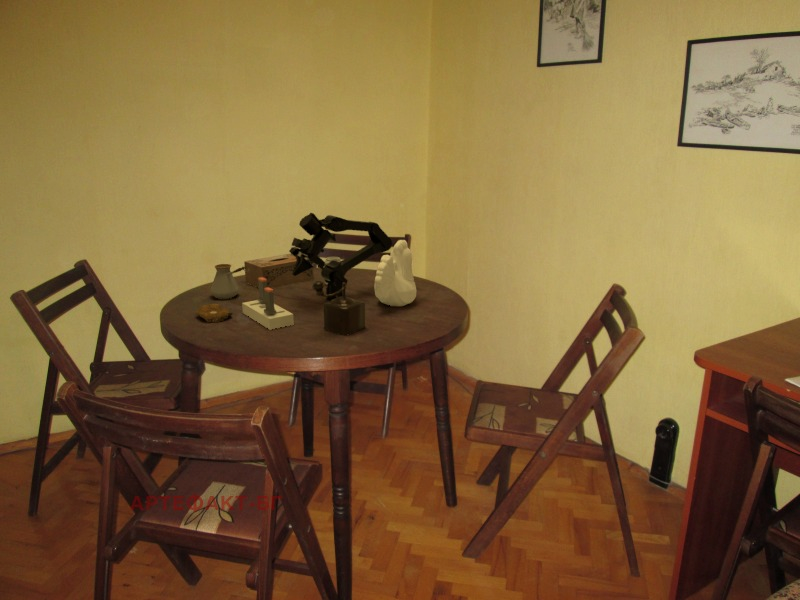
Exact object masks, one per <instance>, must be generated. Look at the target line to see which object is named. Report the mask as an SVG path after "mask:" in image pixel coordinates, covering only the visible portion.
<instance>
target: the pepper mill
mask: <svg viewBox="0 0 800 600" xmlns="http://www.w3.org/2000/svg"><path fill="white" fill-rule="evenodd" d="M342 285H343V286H342V289H340V290H339V291H337V292H335V293H333V294H329V295H326V293H325V291H324V288H325V282H324V281H321V280H316V281H315V282H313V283H312V286H311V287H312V289H313V290H314V291H315V295H316V296H317V297H324V298H327V297H332V296H335V295H336V299H333V300H331V301H330V300H329V301H327V302H325V303H323V329H324V330H326V331H328V330H329V332H331V331H332V332H331V333H334V332H336V333H335V334H338V333H339V334H338V335H342V334H344V335H343V336H348V335H347V334H349V335H351V334H353V332H354V333H356V332H358V330H359V331H361V330H362V329H365V328H366V307H365V306H366V302H364V301H361V300H356V299H353V298H350V297H348V296H347V295H346V289H347V284H346V283H345V282H343V283H342ZM342 291H343V296H341V297H338V295H337V294H339V293H341V292H342ZM360 329H361V330H360ZM355 331H356V332H355ZM350 333H351V334H350Z"/></svg>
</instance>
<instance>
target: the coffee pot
mask: <svg viewBox="0 0 800 600" xmlns="http://www.w3.org/2000/svg"><path fill="white" fill-rule="evenodd" d="M231 267H232V264H231V263H230V264H228V263H219V264H216V265H214V268H215V270H216V273H215V276H214V277H213V281H212V284H211V288H210V290H209V291H210V292H209V293H210V294H211V295H212V296H213V297H215V299H217V298H218V300H230V299H233V298H232V297H234V296H235V297H236V295H239V292H240V291H241V290H240V286H239V285H238V283H237V281H236V279H235V276H233V274H236V273H239V272H241V271H244V272H245V268H247V266H245V265H244V266H241V267H239V268H236V269H235V270H233V271H231ZM248 271H249V270H248ZM235 297H234V298H235ZM229 298H230V299H229Z"/></svg>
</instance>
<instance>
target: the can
mask: <svg viewBox="0 0 800 600" xmlns="http://www.w3.org/2000/svg"><path fill="white" fill-rule="evenodd" d="M332 260H334V261H337V262H340V261H342V260H341V257H339V256H328V257H326V258H325V260H324V262H325V264H328V263H329V262H331V261H332ZM327 284H328V283H326V282H325V281H324V285H326V286H327Z"/></svg>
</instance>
